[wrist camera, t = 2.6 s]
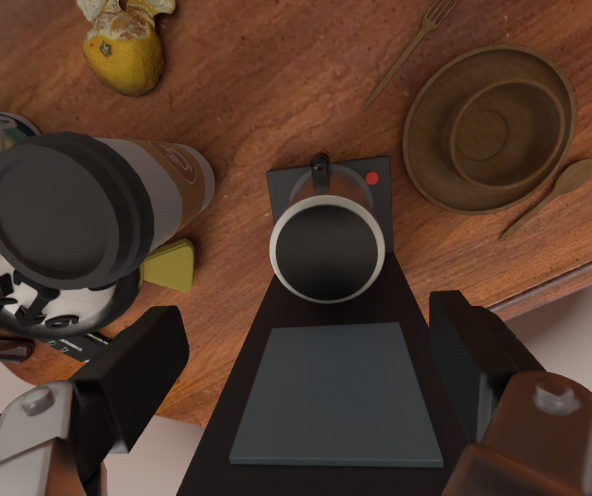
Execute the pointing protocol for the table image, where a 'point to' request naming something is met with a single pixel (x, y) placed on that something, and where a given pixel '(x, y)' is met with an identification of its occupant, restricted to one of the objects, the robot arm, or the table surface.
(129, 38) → the fruit
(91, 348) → the computer memory module
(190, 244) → the alarm clock
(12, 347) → the tablet stand
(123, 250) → the coffee cup
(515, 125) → the place setting
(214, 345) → the table surface
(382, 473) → the coffee maker
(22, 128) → the spray bottle
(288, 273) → the steel travel mug
